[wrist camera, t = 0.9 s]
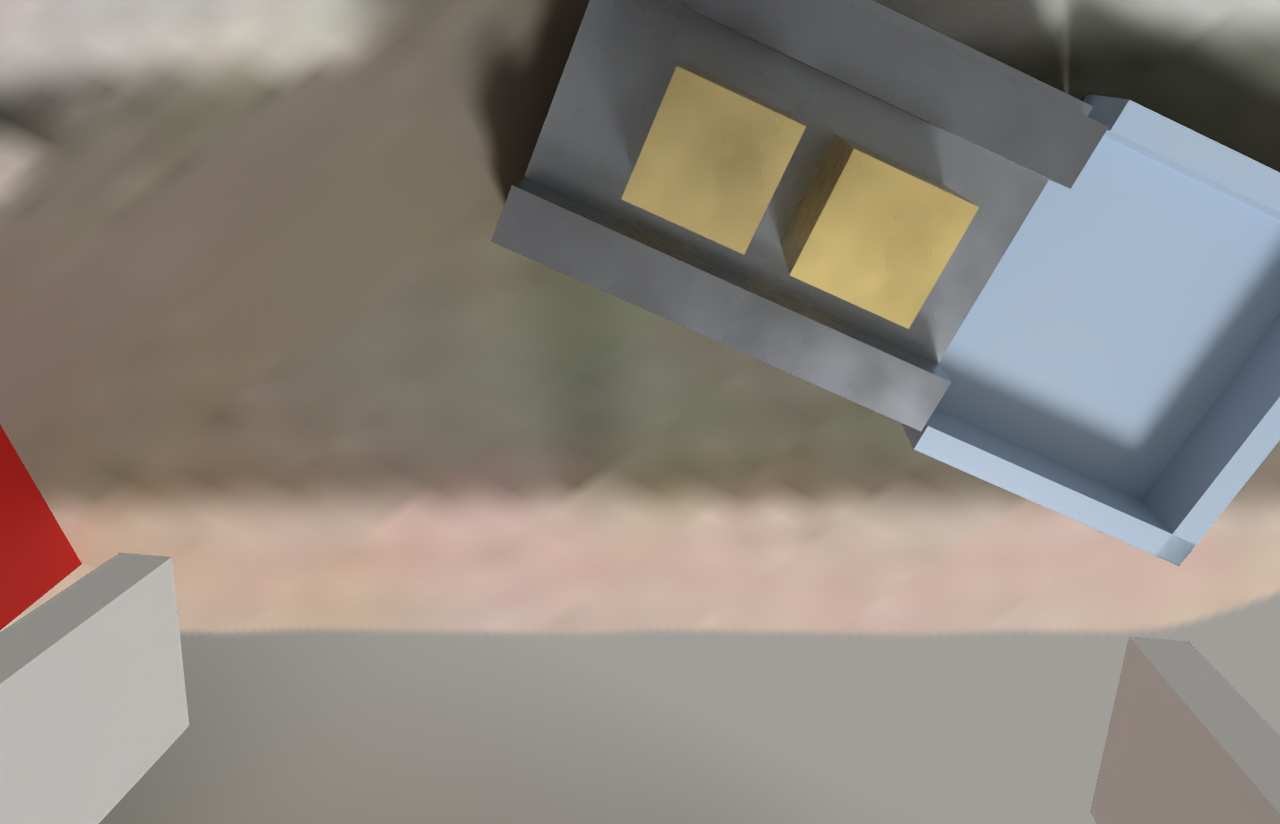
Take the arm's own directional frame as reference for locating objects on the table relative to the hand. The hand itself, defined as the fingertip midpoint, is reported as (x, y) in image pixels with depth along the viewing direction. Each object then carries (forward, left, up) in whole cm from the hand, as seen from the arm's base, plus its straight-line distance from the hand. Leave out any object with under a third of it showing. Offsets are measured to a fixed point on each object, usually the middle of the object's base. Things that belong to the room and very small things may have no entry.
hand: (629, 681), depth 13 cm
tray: (-5, +15, -24) cm, 29 cm away
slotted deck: (-5, +1, -24) cm, 24 cm away
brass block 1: (-5, -1, -21) cm, 22 cm away
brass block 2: (-5, +4, -21) cm, 22 cm away
